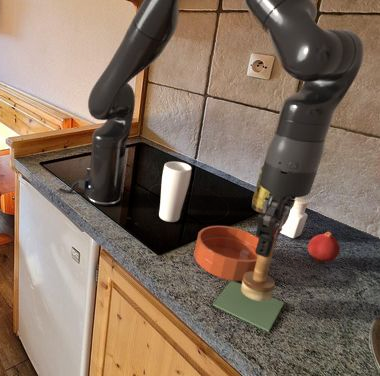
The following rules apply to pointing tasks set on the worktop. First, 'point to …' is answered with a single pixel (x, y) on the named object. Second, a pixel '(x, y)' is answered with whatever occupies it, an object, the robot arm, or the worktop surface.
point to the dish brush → (259, 279)
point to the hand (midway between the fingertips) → (264, 251)
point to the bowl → (226, 252)
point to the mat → (248, 307)
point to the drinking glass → (174, 190)
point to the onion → (323, 248)
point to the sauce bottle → (259, 196)
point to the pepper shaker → (296, 219)
